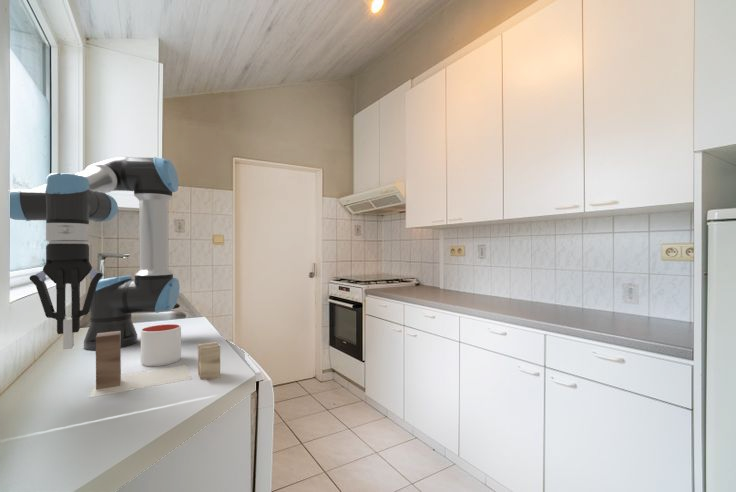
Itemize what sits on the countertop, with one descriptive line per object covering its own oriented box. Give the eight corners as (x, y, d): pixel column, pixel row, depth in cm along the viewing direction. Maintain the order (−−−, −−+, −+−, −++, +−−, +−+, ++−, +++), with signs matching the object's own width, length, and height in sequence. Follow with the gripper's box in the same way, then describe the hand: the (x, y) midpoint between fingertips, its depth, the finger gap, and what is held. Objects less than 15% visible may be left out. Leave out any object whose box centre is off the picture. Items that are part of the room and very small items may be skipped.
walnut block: (97, 384, 86) (97, 333, 86) (120, 380, 89) (120, 330, 89) (96, 390, 82) (95, 336, 82) (119, 386, 85) (119, 334, 85)
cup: (188, 357, 108) (188, 324, 108) (166, 368, 98) (166, 331, 98) (156, 357, 109) (156, 324, 109) (132, 368, 99) (131, 331, 99)
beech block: (198, 375, 92) (197, 344, 92) (216, 372, 95) (216, 341, 95) (200, 381, 88) (200, 348, 89) (220, 377, 91) (220, 345, 91)
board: (95, 381, 89) (95, 379, 89) (186, 366, 100) (186, 364, 100) (89, 399, 78) (89, 397, 78) (191, 380, 89) (191, 378, 89)
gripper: (24, 242, 75) (25, 356, 75) (102, 242, 82) (102, 346, 82) (33, 243, 82) (34, 348, 81) (105, 243, 88) (105, 340, 88)
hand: (68, 347), depth 82 cm, fingers closed
